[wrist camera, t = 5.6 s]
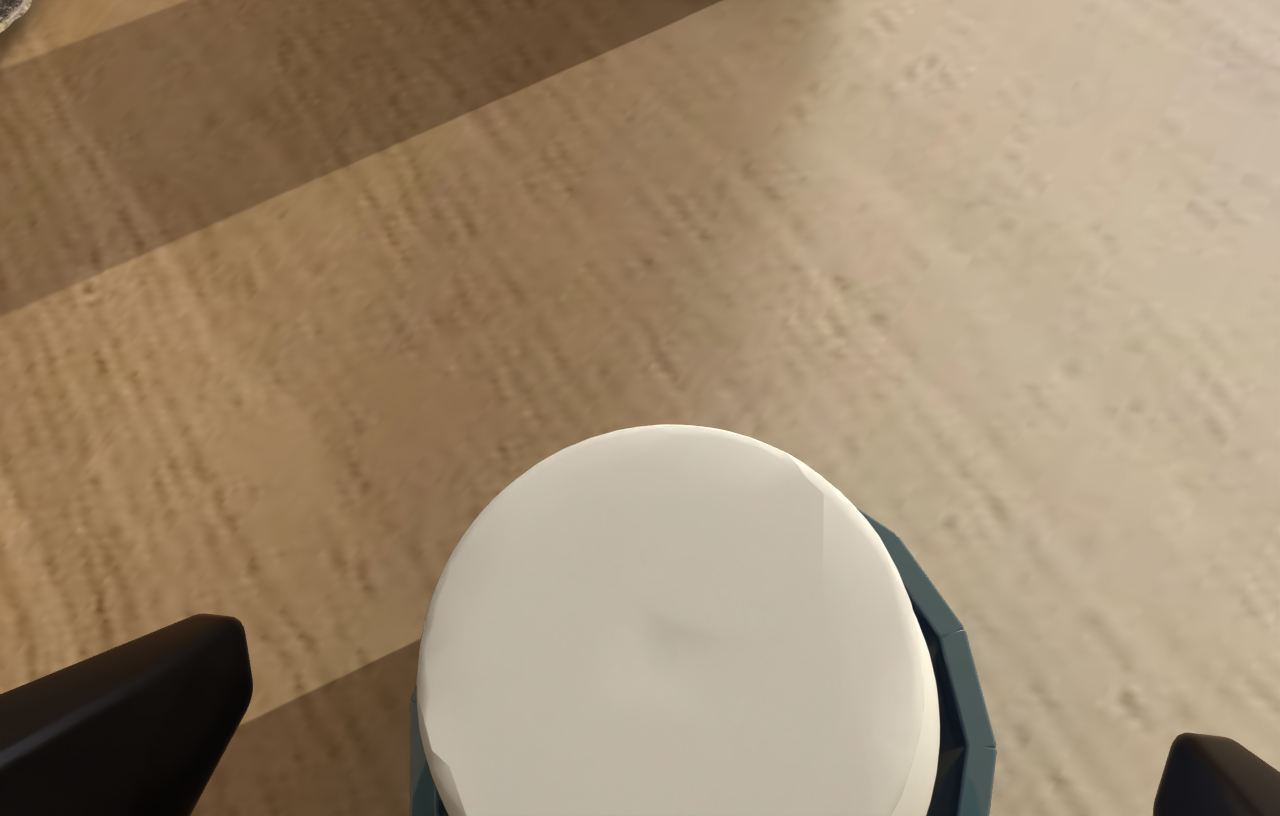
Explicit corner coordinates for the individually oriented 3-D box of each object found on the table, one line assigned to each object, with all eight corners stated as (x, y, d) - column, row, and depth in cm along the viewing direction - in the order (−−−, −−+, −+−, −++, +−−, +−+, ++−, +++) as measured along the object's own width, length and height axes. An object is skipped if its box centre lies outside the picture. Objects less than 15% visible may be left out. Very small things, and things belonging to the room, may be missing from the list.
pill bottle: (898, 669, 16) (1111, 486, 7) (785, 985, 14) (881, 1269, 5) (630, 547, 17) (529, 267, 8) (494, 820, 15) (185, 826, 7)
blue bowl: (1016, 704, 16) (1102, 670, 12) (753, 1138, 13) (762, 1258, 10) (661, 454, 18) (644, 365, 15) (390, 785, 16) (293, 776, 12)
